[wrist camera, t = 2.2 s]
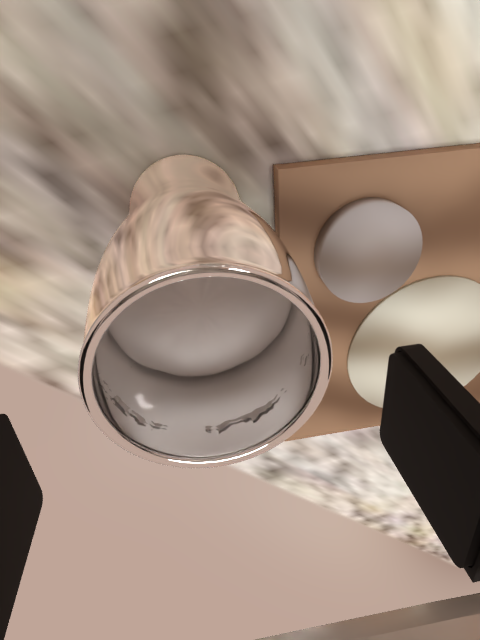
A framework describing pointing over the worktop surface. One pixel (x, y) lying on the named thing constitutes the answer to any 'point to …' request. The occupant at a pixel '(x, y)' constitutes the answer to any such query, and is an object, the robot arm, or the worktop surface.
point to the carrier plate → (385, 267)
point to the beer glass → (199, 326)
